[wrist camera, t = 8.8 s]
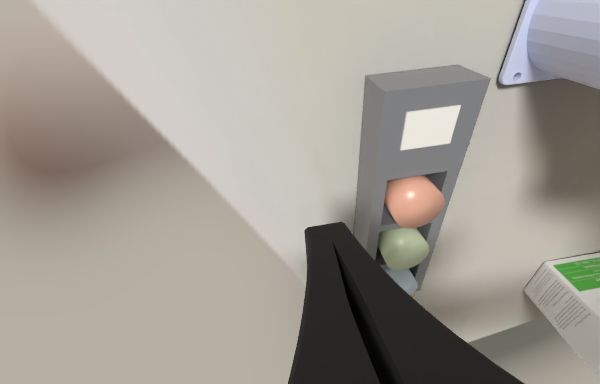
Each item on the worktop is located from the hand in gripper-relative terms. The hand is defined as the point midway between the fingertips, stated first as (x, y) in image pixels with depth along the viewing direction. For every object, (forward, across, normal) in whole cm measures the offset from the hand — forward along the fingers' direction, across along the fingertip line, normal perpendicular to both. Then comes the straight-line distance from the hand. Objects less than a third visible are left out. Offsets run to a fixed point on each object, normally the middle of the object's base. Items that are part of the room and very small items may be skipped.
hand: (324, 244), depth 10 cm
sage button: (+9, -8, +10) cm, 16 cm away
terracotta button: (+9, -8, +6) cm, 14 cm away
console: (+10, -8, +8) cm, 15 cm away
